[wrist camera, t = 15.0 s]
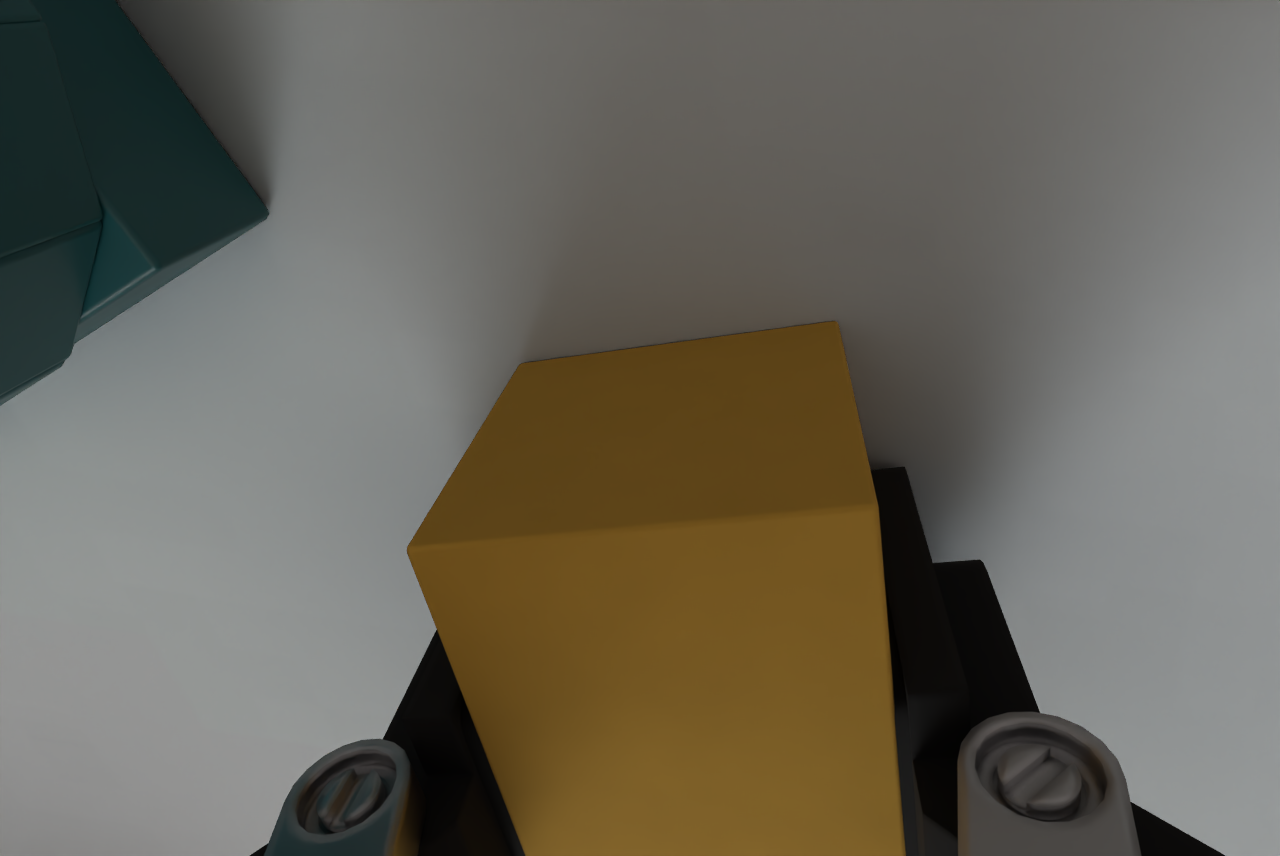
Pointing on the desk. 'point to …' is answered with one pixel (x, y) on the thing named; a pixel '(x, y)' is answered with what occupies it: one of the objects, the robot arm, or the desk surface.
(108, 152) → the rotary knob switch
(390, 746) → the robot arm
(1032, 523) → the desk surface
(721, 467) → the sponge
